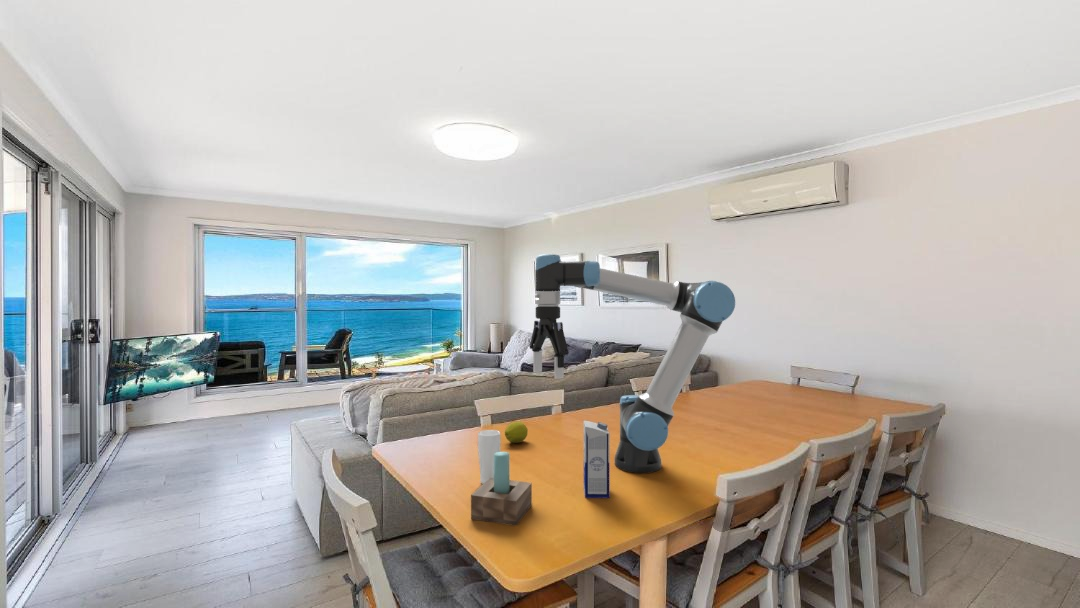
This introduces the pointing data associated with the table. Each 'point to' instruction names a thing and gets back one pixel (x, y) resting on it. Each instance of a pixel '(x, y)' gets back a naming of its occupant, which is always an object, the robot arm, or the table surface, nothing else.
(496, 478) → the dowel
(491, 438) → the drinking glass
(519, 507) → the bore block
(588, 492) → the milk carton
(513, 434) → the lemon
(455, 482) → the table surface
